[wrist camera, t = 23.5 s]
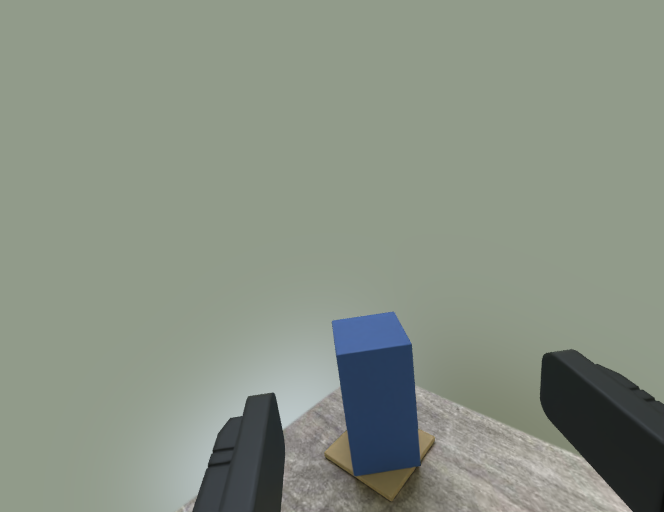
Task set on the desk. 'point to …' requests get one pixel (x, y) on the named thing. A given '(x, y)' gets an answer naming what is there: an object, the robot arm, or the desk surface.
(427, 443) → the mat
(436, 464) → the desk surface
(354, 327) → the block
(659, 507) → the robot arm
